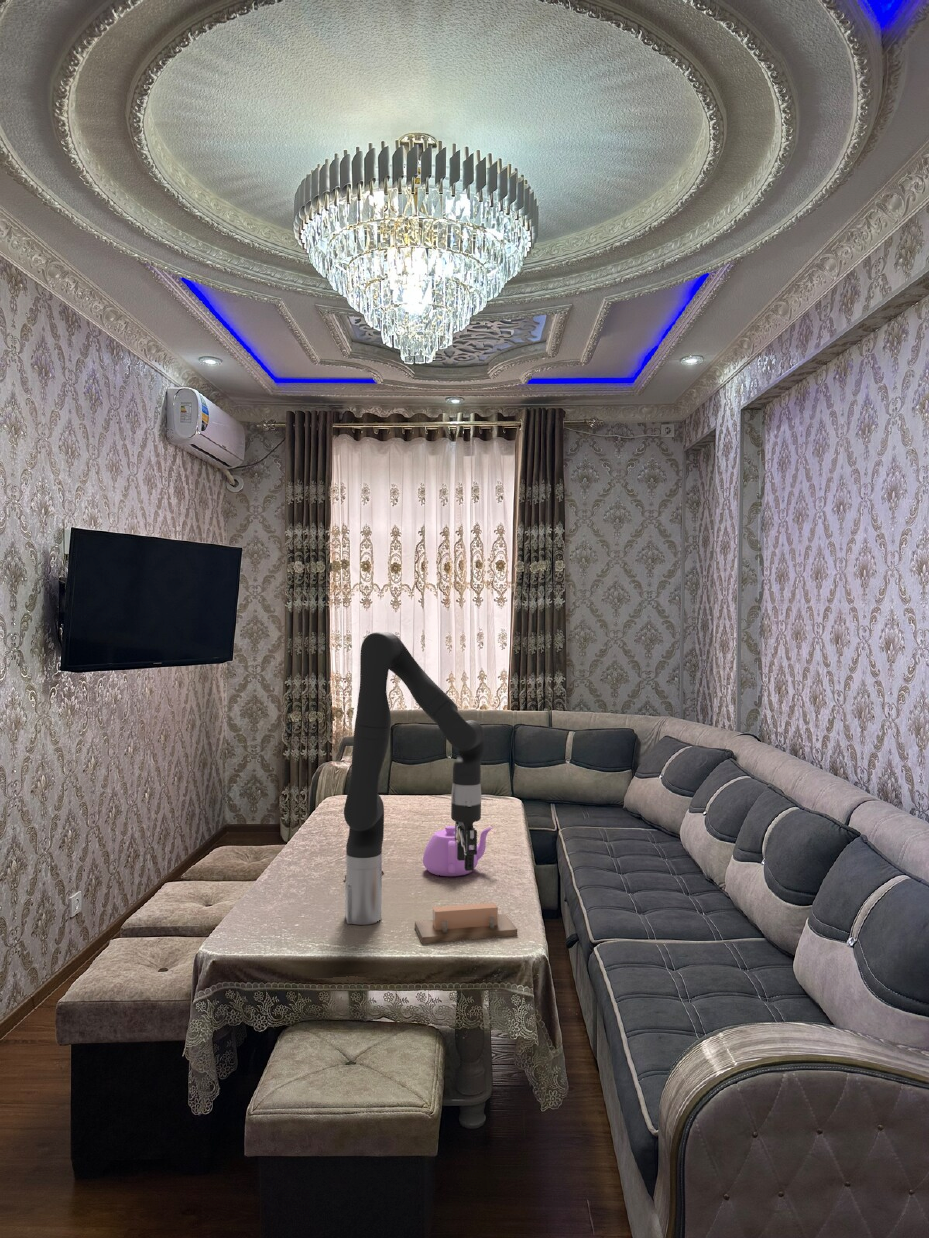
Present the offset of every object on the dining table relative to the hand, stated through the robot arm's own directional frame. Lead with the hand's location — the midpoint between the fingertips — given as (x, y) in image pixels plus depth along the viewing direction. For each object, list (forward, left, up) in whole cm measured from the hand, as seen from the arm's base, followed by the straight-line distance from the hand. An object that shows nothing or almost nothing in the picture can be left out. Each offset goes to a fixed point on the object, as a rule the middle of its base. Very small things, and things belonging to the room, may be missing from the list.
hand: (465, 864), depth 213 cm
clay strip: (0, 0, -15) cm, 15 cm away
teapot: (+9, +49, -17) cm, 53 cm away
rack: (0, 0, -17) cm, 17 cm away
